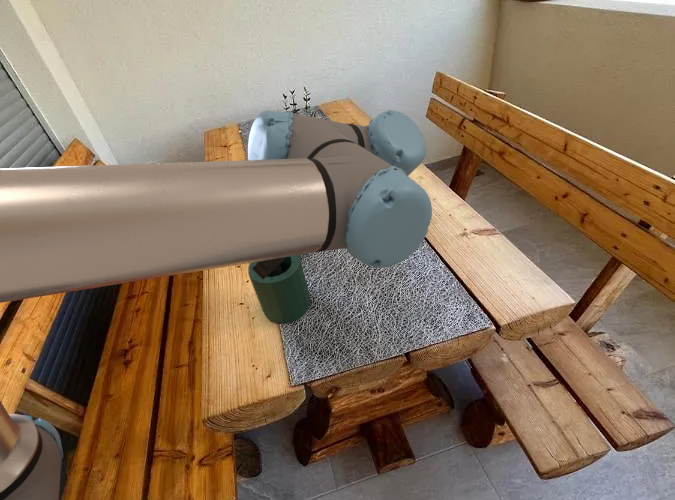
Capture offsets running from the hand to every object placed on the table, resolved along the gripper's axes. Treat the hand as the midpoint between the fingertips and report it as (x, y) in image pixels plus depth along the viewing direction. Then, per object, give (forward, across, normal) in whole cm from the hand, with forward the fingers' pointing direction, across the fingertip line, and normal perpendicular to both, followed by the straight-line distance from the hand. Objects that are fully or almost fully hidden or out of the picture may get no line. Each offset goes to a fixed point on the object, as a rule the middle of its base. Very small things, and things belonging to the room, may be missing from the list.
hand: (283, 250), depth 72 cm
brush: (+14, 0, -9) cm, 17 cm away
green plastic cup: (+15, 0, -9) cm, 18 cm away
